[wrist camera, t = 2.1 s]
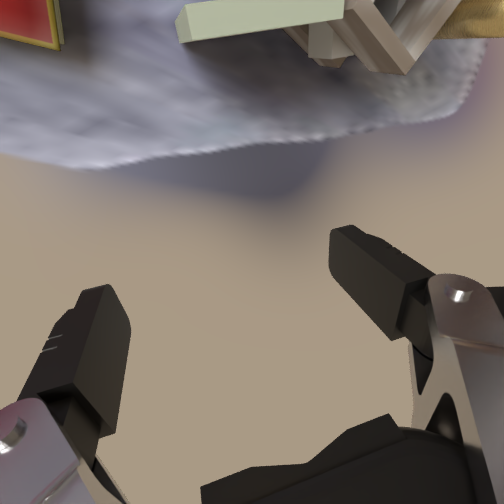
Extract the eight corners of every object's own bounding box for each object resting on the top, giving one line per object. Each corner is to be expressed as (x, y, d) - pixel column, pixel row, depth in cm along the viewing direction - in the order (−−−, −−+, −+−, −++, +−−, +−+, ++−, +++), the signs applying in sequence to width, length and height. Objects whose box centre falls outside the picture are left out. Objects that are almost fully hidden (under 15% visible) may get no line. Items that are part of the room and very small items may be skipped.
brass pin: (401, -1, 29) (597, -41, 16) (414, 19, 30) (602, -2, 18) (381, 28, 30) (548, 14, 17) (395, 46, 32) (558, 46, 19)
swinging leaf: (353, -38, 26) (475, -92, 16) (345, 47, 30) (438, 47, 20) (166, -16, 23) (171, -64, 13) (186, 73, 27) (202, 88, 17)
